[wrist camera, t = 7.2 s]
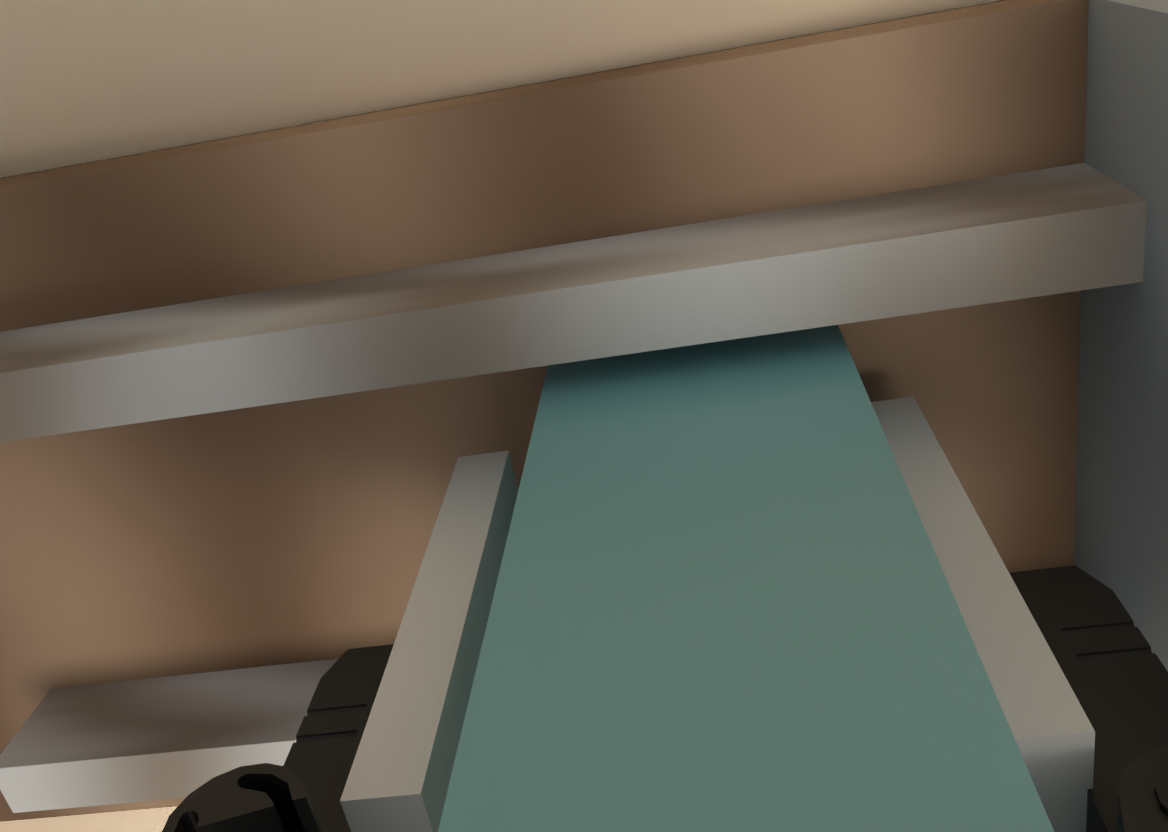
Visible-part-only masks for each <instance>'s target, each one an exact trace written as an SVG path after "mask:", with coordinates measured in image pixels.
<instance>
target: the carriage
mask: <svg viewBox="0 0 1168 832" xmlns="http://www.w3.org/2000/svg"><path fill="white" fill-rule="evenodd" d="M438 832H1054V830H1053V827H1052V825H1051V823H1050V820H1049V818H1048V816H1047V813H1046V811H1045V809H1044V806H1043V804H1042V802H1041V799H1040V797H1039V795H1038V792H1037V790H1036V788H1035V785H1034V783H1033V781H1032V778H1031V776H1030V774H1029V771H1028V769H1027V767H1026V764H1025V762H1024V759H1023V757H1022V755H1021V752H1020V750H1019V748H1018V745H1017V743H1016V741H1015V738H1014V736H1013V734H1012V731H1011V729H1010V727H1009V724H1008V722H1007V720H1006V717H1005V715H1004V713H1003V710H1002V708H1001V706H1000V703H999V701H998V699H997V696H996V694H995V692H994V689H993V687H992V685H991V682H990V680H989V678H988V675H987V673H986V671H985V668H984V666H983V663H982V661H981V659H980V656H979V654H978V652H977V649H976V647H975V645H974V642H973V640H972V638H971V635H970V633H969V631H968V628H967V626H966V624H965V621H964V619H963V617H962V614H961V612H960V610H959V607H958V605H957V603H956V600H955V598H954V596H953V593H952V591H951V589H950V586H949V584H948V582H947V579H946V577H945V575H944V572H943V570H942V567H941V565H940V563H939V560H938V558H937V556H936V553H935V551H934V549H933V546H932V544H931V542H930V539H929V537H928V535H927V532H926V530H925V528H924V525H923V523H922V521H921V518H920V516H919V514H918V511H917V509H916V507H915V504H914V502H913V500H912V497H911V495H910V493H909V490H908V488H907V486H906V483H905V481H904V479H903V476H902V474H901V471H900V469H899V467H898V464H897V462H896V460H895V457H894V455H893V453H892V450H891V448H890V446H889V443H888V441H887V439H886V436H885V434H884V432H883V429H882V427H881V425H880V422H879V420H878V418H877V415H876V413H875V411H874V408H873V406H872V404H871V401H870V399H869V397H868V394H867V392H866V390H865V387H864V385H863V383H862V380H861V378H860V375H859V373H858V371H857V368H856V366H855V364H854V361H853V359H852V357H851V354H850V352H849V350H848V347H847V345H846V343H845V340H844V338H843V336H842V333H841V331H840V329H839V326H838V325H832V326H825V327H818V328H811V329H804V330H797V331H790V332H782V333H775V334H768V335H761V336H754V337H747V338H740V339H733V340H726V341H718V342H711V343H704V344H697V345H690V346H683V347H676V348H669V349H661V350H654V351H647V352H640V353H633V354H626V355H619V356H612V357H605V358H597V359H590V360H583V361H576V362H569V363H562V364H555V365H548V367H547V372H546V376H545V380H544V384H543V389H542V393H541V397H540V401H539V406H538V410H537V414H536V418H535V422H534V427H533V431H532V435H531V439H530V444H529V448H528V452H527V456H526V461H525V465H524V469H523V473H522V477H521V482H520V486H519V490H518V494H517V499H516V503H515V507H514V511H513V516H512V520H511V524H510V528H509V532H508V537H507V541H506V545H505V549H504V554H503V558H502V562H501V566H500V571H499V575H498V579H497V583H496V587H495V592H494V596H493V600H492V604H491V609H490V613H489V617H488V621H487V626H486V630H485V634H484V638H483V642H482V647H481V651H480V655H479V659H478V664H477V668H476V672H475V676H474V681H473V685H472V689H471V693H470V697H469V702H468V706H467V710H466V714H465V719H464V723H463V727H462V731H461V736H460V740H459V744H458V748H457V752H456V757H455V761H454V765H453V769H452V774H451V778H450V782H449V786H448V791H447V795H446V799H445V803H444V807H443V812H442V816H441V820H440V824H439V829H438Z"/></svg>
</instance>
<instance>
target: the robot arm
mask: <svg viewBox="0 0 1168 832" xmlns="http://www.w3.org/2000/svg"><path fill="white" fill-rule="evenodd" d="M871 404H872V406H873V408H874V411H875V413H876V415H877V418H878V420H879V422H880V425H881V427H882V429H883V432H884V434H885V436H886V439H887V441H888V443H889V446H890V448H891V450H892V453H893V455H894V457H895V460H896V462H897V464H898V467H899V469H900V471H901V474H902V476H903V479H904V481H905V483H906V486H907V488H908V490H909V493H910V495H911V497H912V500H913V502H914V504H915V507H916V509H917V511H918V514H919V516H920V518H921V521H922V523H923V525H924V528H925V530H926V532H927V535H928V537H929V539H930V542H931V544H932V546H933V549H934V551H935V553H936V556H937V558H938V560H939V563H940V565H941V567H942V570H943V572H944V575H945V577H946V579H947V582H948V584H949V586H950V589H951V591H952V593H953V596H954V598H955V600H956V603H957V605H958V607H959V610H960V612H961V614H962V617H963V619H964V621H965V624H966V626H967V628H968V631H969V633H970V635H971V638H972V640H973V642H974V645H975V647H976V649H977V652H978V654H979V656H980V659H981V661H982V663H983V666H984V668H985V671H986V673H987V675H988V678H989V680H990V682H991V685H992V687H993V689H994V692H995V694H996V696H997V699H998V701H999V703H1000V706H1001V708H1002V710H1003V713H1004V715H1005V717H1006V720H1007V722H1008V724H1009V727H1010V729H1011V731H1012V734H1013V736H1014V738H1015V741H1016V743H1017V745H1018V748H1019V750H1020V752H1021V755H1022V757H1023V759H1024V762H1025V764H1026V767H1027V769H1028V771H1029V774H1030V776H1031V778H1032V781H1033V783H1034V785H1035V788H1036V790H1037V792H1038V795H1039V797H1040V799H1041V802H1042V804H1043V806H1044V809H1045V811H1046V813H1047V816H1048V818H1049V820H1050V823H1051V825H1052V827H1053V830H1054V832H1168V671H1167V670H1166V668H1165V667H1164V665H1163V664H1162V662H1161V661H1160V659H1159V658H1158V656H1157V655H1156V653H1152V651H1151V646H1150V645H1149V643H1148V642H1147V640H1146V639H1145V637H1144V636H1143V634H1142V633H1141V631H1140V630H1139V628H1138V627H1135V626H1134V621H1133V620H1132V618H1131V617H1130V615H1129V614H1128V612H1127V611H1126V609H1125V608H1124V606H1123V605H1122V603H1121V602H1120V600H1119V599H1118V597H1117V596H1116V595H1115V593H1114V592H1113V590H1112V589H1110V588H1109V587H1107V586H1106V585H1104V584H1103V583H1101V582H1100V581H1098V580H1097V579H1095V578H1094V577H1092V576H1091V575H1089V574H1088V573H1086V572H1085V571H1083V570H1082V569H1080V568H1079V567H1077V566H1076V565H1073V566H1064V567H1056V568H1047V569H1038V570H1029V571H1020V572H1011V573H1009V572H1008V570H1007V568H1006V566H1005V564H1004V562H1003V561H1002V559H1001V557H1000V555H999V553H998V551H997V549H996V548H995V546H994V544H993V542H992V540H991V538H990V537H989V535H988V533H987V531H986V529H985V527H984V525H983V524H982V522H981V520H980V518H979V516H978V514H977V513H976V511H975V509H974V507H973V505H972V503H971V501H970V500H969V498H968V496H967V494H966V492H965V490H964V489H963V487H962V485H961V483H960V481H959V479H958V477H957V476H956V474H955V472H954V470H953V468H952V466H951V465H950V463H949V461H948V459H947V457H946V455H945V453H944V452H943V450H942V448H941V446H940V444H939V442H938V441H937V439H936V437H935V435H934V433H933V431H932V429H931V428H930V426H929V424H928V422H927V420H926V418H925V417H924V415H923V413H922V411H921V409H920V407H919V405H918V404H917V402H916V400H915V398H914V396H912V397H905V398H897V399H890V400H882V401H875V402H871ZM517 494H518V488H517V484H516V479H515V475H514V471H513V467H512V462H511V458H510V454H509V450H507V451H500V452H492V453H485V454H477V455H470V456H462V457H458V459H457V462H456V465H455V468H454V471H453V474H452V477H451V480H450V483H449V486H448V488H447V491H446V494H445V497H444V500H443V503H442V506H441V509H440V512H439V515H438V518H437V520H436V523H435V526H434V529H433V532H432V535H431V538H430V541H429V544H428V547H427V549H426V552H425V555H424V558H423V561H422V564H421V567H420V570H419V573H418V576H417V579H416V581H415V584H414V587H413V590H412V593H411V596H410V599H409V602H408V605H407V608H406V610H405V613H404V616H403V619H402V622H401V625H400V628H399V631H398V634H397V637H396V640H395V642H394V644H390V645H381V646H372V647H363V648H354V649H348V650H347V651H346V652H345V653H344V654H343V655H342V656H341V657H340V658H339V659H338V660H337V661H336V662H335V663H334V665H333V666H332V667H331V668H330V669H329V670H328V671H327V672H326V673H325V674H324V675H323V676H322V677H321V678H320V681H319V683H318V685H317V688H316V690H315V692H314V695H313V697H312V699H311V702H310V704H309V707H308V709H307V716H304V718H303V721H302V723H301V725H300V728H299V730H298V732H297V735H296V743H293V744H292V747H291V749H290V751H289V754H288V756H287V758H286V761H285V763H284V765H283V766H280V765H275V764H270V763H262V764H255V765H248V766H241V767H238V768H236V769H233V770H231V771H228V772H226V773H223V774H221V775H218V776H216V777H213V778H212V779H211V780H209V781H208V782H206V783H205V784H203V785H202V786H200V787H199V788H197V789H196V790H195V791H193V792H192V793H190V794H189V795H188V796H187V797H186V798H185V799H184V800H183V801H182V802H181V804H180V805H179V806H178V807H177V808H176V809H175V810H174V811H173V812H172V814H171V815H170V816H169V818H168V820H167V822H166V825H165V827H164V829H163V831H162V832H438V829H439V824H440V820H441V816H442V812H443V807H444V803H445V799H446V795H447V791H448V786H449V782H450V778H451V774H452V769H453V765H454V761H455V757H456V752H457V748H458V744H459V740H460V736H461V731H462V727H463V723H464V719H465V714H466V710H467V706H468V702H469V697H470V693H471V689H472V685H473V681H474V676H475V672H476V668H477V664H478V659H479V655H480V651H481V647H482V642H483V638H484V634H485V630H486V626H487V621H488V617H489V613H490V609H491V604H492V600H493V596H494V592H495V587H496V583H497V579H498V575H499V571H500V566H501V562H502V558H503V554H504V549H505V545H506V541H507V537H508V532H509V528H510V524H511V520H512V516H513V511H514V507H515V503H516V499H517Z"/></svg>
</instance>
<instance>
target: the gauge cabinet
mask: <svg viewBox="0 0 1168 832" xmlns="http://www.w3.org/2000/svg"><path fill="white" fill-rule="evenodd" d="M1085 163H1086V164H1088V165H1089V166H1091V167H1093V168H1094V169H1096V170H1097V171H1099V172H1101V173H1102V174H1104V175H1106V176H1107V177H1109V178H1111V179H1112V180H1114V181H1116V182H1117V183H1119V184H1120V185H1122V186H1124V187H1125V188H1127V189H1129V190H1130V191H1132V192H1134V193H1135V194H1137V195H1138V196H1140V197H1142V198H1143V199H1145V200H1147V216H1146V235H1145V254H1144V273H1143V282H1138V283H1131V284H1124V285H1117V286H1110V287H1103V288H1096V289H1088V290H1081V315H1080V353H1079V391H1078V428H1077V466H1076V503H1075V541H1074V565H1076V566H1077V567H1079V568H1080V569H1082V570H1083V571H1085V572H1086V573H1088V574H1089V575H1091V576H1092V577H1094V578H1095V579H1097V580H1098V581H1100V582H1101V583H1103V584H1104V585H1106V586H1107V587H1109V588H1110V589H1112V590H1113V592H1114V593H1115V595H1116V596H1117V597H1118V599H1119V600H1120V602H1121V603H1122V605H1123V606H1124V608H1125V609H1126V611H1127V612H1128V614H1129V615H1130V617H1131V618H1132V620H1133V621H1134V626H1135V627H1138V628H1139V630H1140V631H1141V633H1142V634H1143V636H1144V637H1145V639H1146V640H1147V642H1148V643H1149V645H1150V646H1151V651H1152V653H1156V655H1157V656H1158V658H1159V659H1160V661H1161V662H1162V664H1163V665H1164V667H1165V668H1166V670H1167V671H1168V0H1089V15H1088V53H1087V90H1086V128H1085Z"/></svg>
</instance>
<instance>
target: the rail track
mask: <svg viewBox="0 0 1168 832" xmlns="http://www.w3.org/2000/svg"><path fill="white" fill-rule="evenodd" d="M1088 15H1089V0H1004V1H998V2H992V3H987V4H981V5H975V6H970V7H964V8H959V9H953V10H947V11H942V12H936V13H930V14H925V15H919V16H913V17H908V18H902V19H897V20H891V21H885V22H880V23H874V24H868V25H863V26H857V27H851V28H846V29H840V30H835V31H829V32H823V33H818V34H812V35H806V36H801V37H795V38H789V39H784V40H778V41H773V42H767V43H761V44H756V45H750V46H744V47H739V48H733V49H728V50H722V51H716V52H711V53H705V54H699V55H694V56H688V57H682V58H677V59H671V60H666V61H660V62H654V63H649V64H643V65H637V66H632V67H626V68H620V69H615V70H609V71H604V72H598V73H592V74H587V75H581V76H575V77H570V78H564V79H558V80H553V81H547V82H542V83H536V84H530V85H525V86H519V87H513V88H508V89H502V90H496V91H491V92H485V93H480V94H474V95H468V96H463V97H457V98H451V99H446V100H440V101H434V102H429V103H423V104H418V105H412V106H406V107H401V108H395V109H389V110H384V111H378V112H372V113H367V114H361V115H356V116H350V117H344V118H339V119H333V120H327V121H322V122H316V123H310V124H305V125H299V126H294V127H288V128H282V129H277V130H271V131H265V132H260V133H254V134H248V135H243V136H237V137H232V138H226V139H220V140H215V141H209V142H203V143H198V144H192V145H186V146H181V147H175V148H170V149H164V150H158V151H153V152H147V153H141V154H136V155H130V156H124V157H119V158H113V159H108V160H102V161H96V162H91V163H85V164H79V165H74V166H68V167H62V168H57V169H51V170H46V171H40V172H34V173H29V174H23V175H17V176H12V177H6V178H0V821H11V820H23V819H34V818H46V817H57V816H69V815H80V814H91V813H103V812H114V811H126V810H137V809H149V808H160V807H171V806H179V805H180V804H181V802H182V801H183V800H184V799H185V798H186V797H187V796H188V795H189V794H190V793H192V792H193V791H195V790H196V789H197V788H199V787H200V786H202V785H203V784H205V783H206V782H208V781H209V780H211V779H212V778H213V777H216V776H218V775H221V774H223V773H226V772H228V771H231V770H233V769H236V768H238V767H241V766H248V765H255V764H262V763H270V764H275V765H280V766H283V765H284V763H285V761H286V758H287V756H288V754H289V751H290V749H291V747H292V744H293V743H296V735H297V732H298V730H299V728H300V725H301V723H302V721H303V718H304V716H307V709H308V707H309V704H310V702H311V699H312V697H313V695H314V692H315V690H316V688H317V685H318V683H319V681H320V678H321V677H322V676H323V675H324V674H325V673H326V672H327V671H328V670H329V669H330V668H331V667H332V666H333V665H334V663H335V662H336V661H337V660H338V659H339V658H340V657H341V656H342V655H343V654H344V653H345V652H346V651H347V650H348V649H354V648H363V647H372V646H381V645H390V644H394V642H395V640H396V637H397V634H398V631H399V628H400V625H401V622H402V619H403V616H404V613H405V610H406V608H407V605H408V602H409V599H410V596H411V593H412V590H413V587H414V584H415V581H416V579H417V576H418V573H419V570H420V567H421V564H422V561H423V558H424V555H425V552H426V549H427V547H428V544H429V541H430V538H431V535H432V532H433V529H434V526H435V523H436V520H437V518H438V515H439V512H440V509H441V506H442V503H443V500H444V497H445V494H446V491H447V488H448V486H449V483H450V480H451V477H452V474H453V471H454V468H455V465H456V462H457V459H458V457H462V456H470V455H477V454H485V453H492V452H500V451H507V450H509V454H510V458H511V462H512V467H513V471H514V475H515V479H516V484H517V488H518V490H519V486H520V482H521V477H522V473H523V469H524V465H525V461H526V456H527V452H528V448H529V444H530V439H531V435H532V431H533V427H534V422H535V418H536V414H537V410H538V406H539V401H540V397H541V393H542V389H543V384H544V380H545V376H546V372H547V367H548V365H555V364H562V363H569V362H576V361H583V360H590V359H597V358H605V357H612V356H619V355H626V354H633V353H640V352H647V351H654V350H661V349H669V348H676V347H683V346H690V345H697V344H704V343H711V342H718V341H726V340H733V339H740V338H747V337H754V336H761V335H768V334H775V333H782V332H790V331H797V330H804V329H811V328H818V327H825V326H832V325H838V326H839V329H840V331H841V333H842V336H843V338H844V340H845V343H846V345H847V347H848V350H849V352H850V354H851V357H852V359H853V361H854V364H855V366H856V368H857V371H858V373H859V375H860V378H861V380H862V383H863V385H864V387H865V390H866V392H867V394H868V397H869V399H870V401H871V402H875V401H882V400H890V399H897V398H905V397H912V396H914V398H915V400H916V402H917V404H918V405H919V407H920V409H921V411H922V413H923V415H924V417H925V418H926V420H927V422H928V424H929V426H930V428H931V429H932V431H933V433H934V435H935V437H936V439H937V441H938V442H939V444H940V446H941V448H942V450H943V452H944V453H945V455H946V457H947V459H948V461H949V463H950V465H951V466H952V468H953V470H954V472H955V474H956V476H957V477H958V479H959V481H960V483H961V485H962V487H963V489H964V490H965V492H966V494H967V496H968V498H969V500H970V501H971V503H972V505H973V507H974V509H975V511H976V513H977V514H978V516H979V518H980V520H981V522H982V524H983V525H984V527H985V529H986V531H987V533H988V535H989V537H990V538H991V540H992V542H993V544H994V546H995V548H996V549H997V551H998V553H999V555H1000V557H1001V559H1002V561H1003V562H1004V564H1005V566H1006V568H1007V570H1008V572H1009V573H1011V572H1020V571H1029V570H1038V569H1047V568H1056V567H1064V566H1073V565H1074V541H1075V503H1076V466H1077V428H1078V391H1079V353H1080V315H1081V290H1088V289H1096V288H1103V287H1110V286H1117V285H1124V284H1131V283H1138V282H1143V273H1144V254H1145V235H1146V216H1147V200H1145V199H1143V198H1142V197H1140V196H1138V195H1137V194H1135V193H1134V192H1132V191H1130V190H1129V189H1127V188H1125V187H1124V186H1122V185H1120V184H1119V183H1117V182H1116V181H1114V180H1112V179H1111V178H1109V177H1107V176H1106V175H1104V174H1102V173H1101V172H1099V171H1097V170H1096V169H1094V168H1093V167H1091V166H1089V165H1088V164H1086V163H1085V128H1086V90H1087V53H1088Z"/></svg>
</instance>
